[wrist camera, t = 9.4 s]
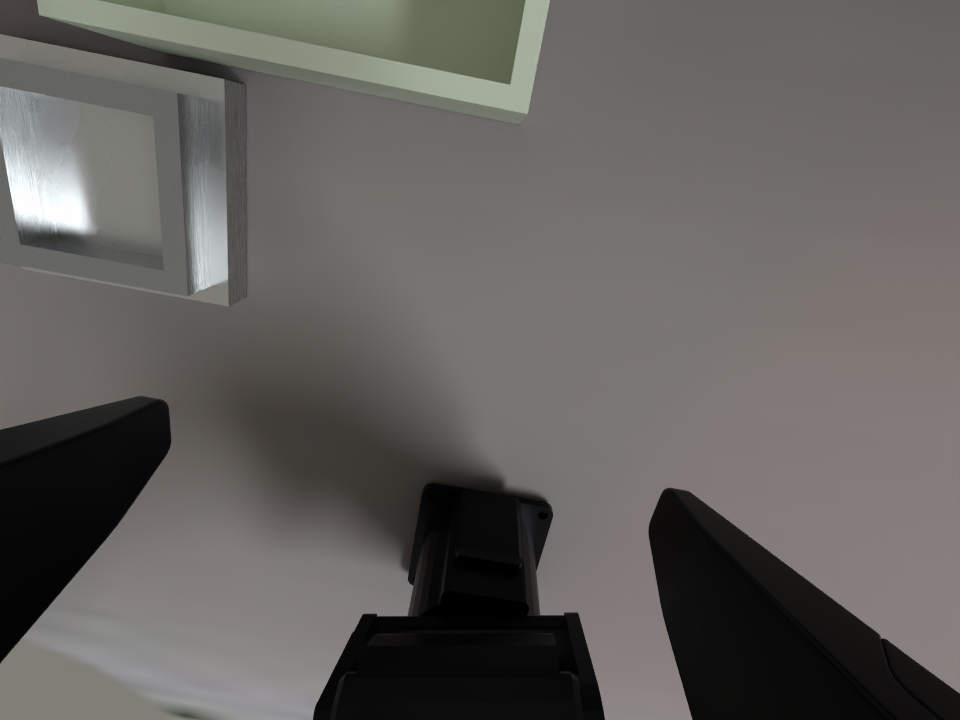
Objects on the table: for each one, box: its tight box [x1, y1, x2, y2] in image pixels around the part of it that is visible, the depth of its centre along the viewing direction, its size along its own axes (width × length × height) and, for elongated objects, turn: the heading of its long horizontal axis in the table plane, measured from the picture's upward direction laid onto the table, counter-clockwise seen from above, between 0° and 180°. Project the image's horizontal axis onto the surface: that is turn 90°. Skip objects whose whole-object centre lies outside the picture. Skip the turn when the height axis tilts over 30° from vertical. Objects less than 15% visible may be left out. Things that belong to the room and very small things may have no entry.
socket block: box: [0, 34, 246, 306], centre depth 18 cm, size 8×8×3 cm
